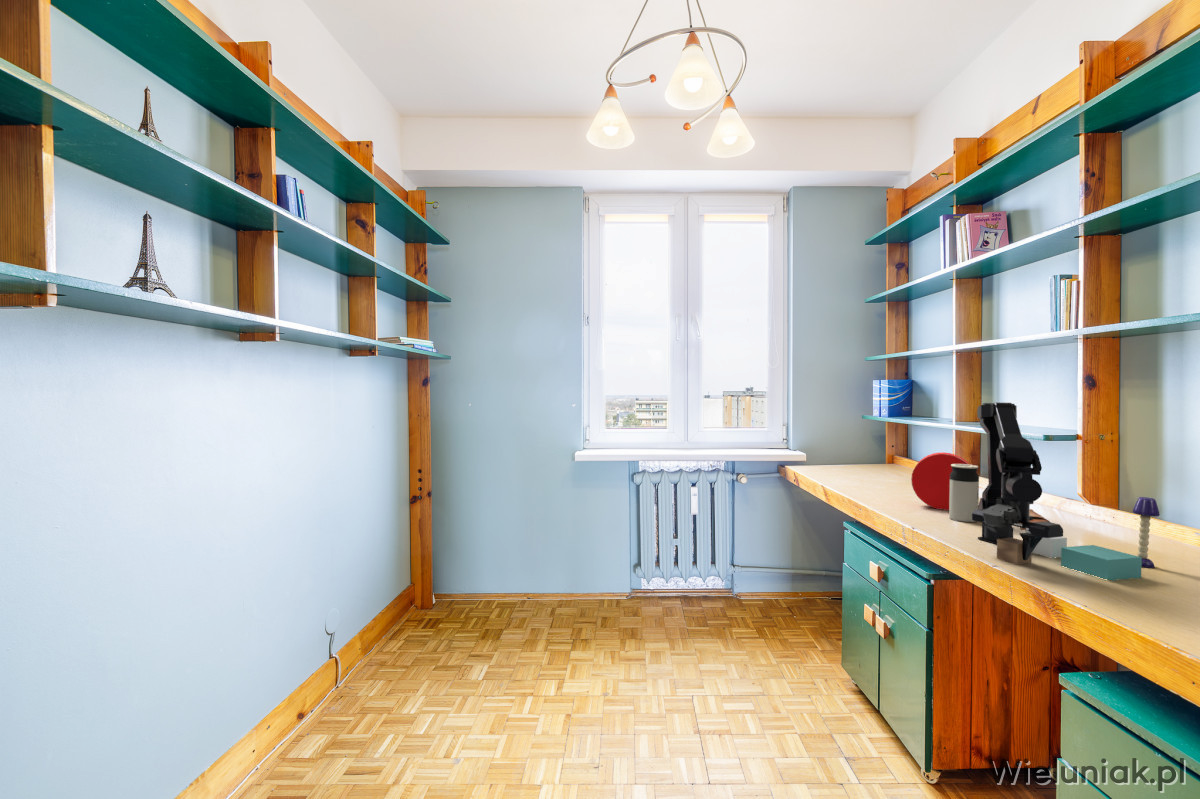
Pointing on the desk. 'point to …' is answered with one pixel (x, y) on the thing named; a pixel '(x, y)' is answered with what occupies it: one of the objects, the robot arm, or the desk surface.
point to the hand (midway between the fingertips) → (1014, 556)
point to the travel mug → (963, 492)
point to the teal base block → (1101, 562)
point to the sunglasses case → (1035, 518)
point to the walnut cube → (1011, 551)
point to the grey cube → (1050, 546)
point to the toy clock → (935, 479)
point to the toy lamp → (1145, 526)
